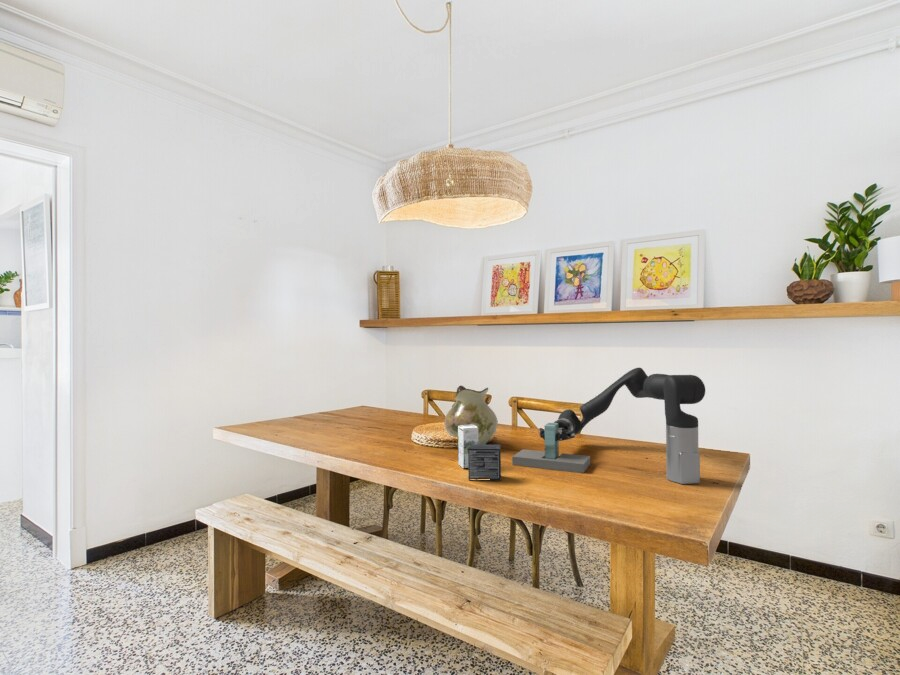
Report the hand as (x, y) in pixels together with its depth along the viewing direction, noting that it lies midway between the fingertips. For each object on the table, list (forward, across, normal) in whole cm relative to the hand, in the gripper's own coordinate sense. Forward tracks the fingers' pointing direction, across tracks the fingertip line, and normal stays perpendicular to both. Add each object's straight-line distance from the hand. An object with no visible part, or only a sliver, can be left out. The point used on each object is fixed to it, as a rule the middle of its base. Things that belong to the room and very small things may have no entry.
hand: (550, 437), depth 170 cm
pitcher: (-16, +39, -10) cm, 43 cm away
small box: (+24, +15, -10) cm, 30 cm away
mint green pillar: (-2, 0, -8) cm, 9 cm away
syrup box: (+14, +26, -10) cm, 31 cm away
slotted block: (-1, 0, -10) cm, 10 cm away
